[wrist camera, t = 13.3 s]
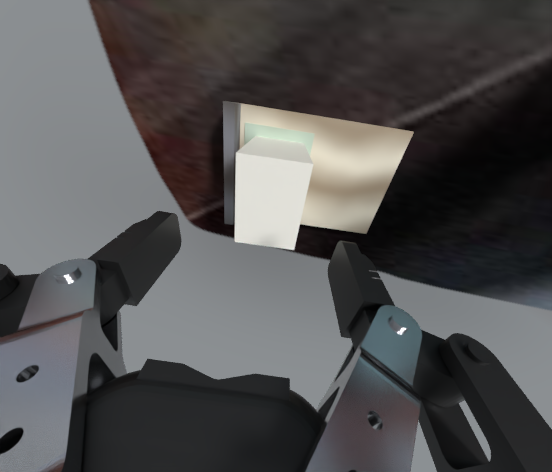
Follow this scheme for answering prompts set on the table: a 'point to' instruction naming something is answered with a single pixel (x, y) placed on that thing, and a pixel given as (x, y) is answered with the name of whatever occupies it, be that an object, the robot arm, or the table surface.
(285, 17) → the table surface
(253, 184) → the carton
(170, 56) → the table surface
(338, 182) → the cream grey flat block
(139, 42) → the table surface
